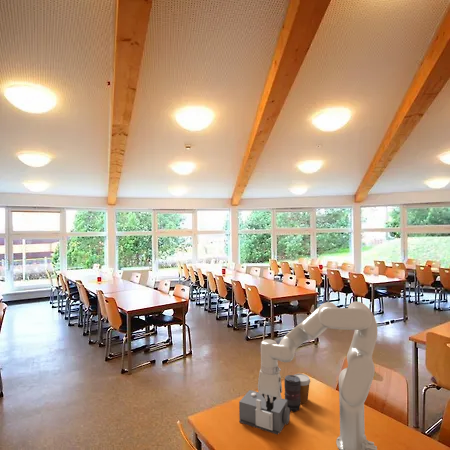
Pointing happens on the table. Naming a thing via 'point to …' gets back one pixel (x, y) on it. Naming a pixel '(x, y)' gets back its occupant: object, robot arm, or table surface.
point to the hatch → (263, 417)
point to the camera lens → (292, 392)
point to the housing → (279, 411)
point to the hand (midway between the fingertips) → (269, 409)
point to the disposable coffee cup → (304, 387)
